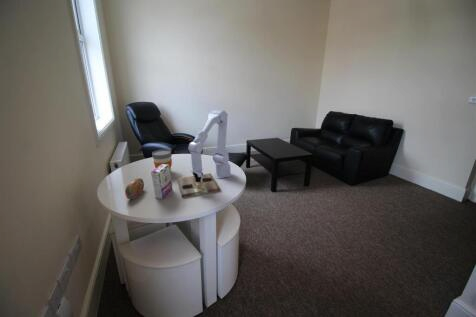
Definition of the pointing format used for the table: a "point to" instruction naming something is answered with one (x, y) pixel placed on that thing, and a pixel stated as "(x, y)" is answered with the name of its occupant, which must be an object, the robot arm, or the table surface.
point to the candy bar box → (162, 181)
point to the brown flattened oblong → (134, 188)
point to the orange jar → (162, 158)
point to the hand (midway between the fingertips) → (198, 183)
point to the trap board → (189, 185)
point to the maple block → (200, 186)
